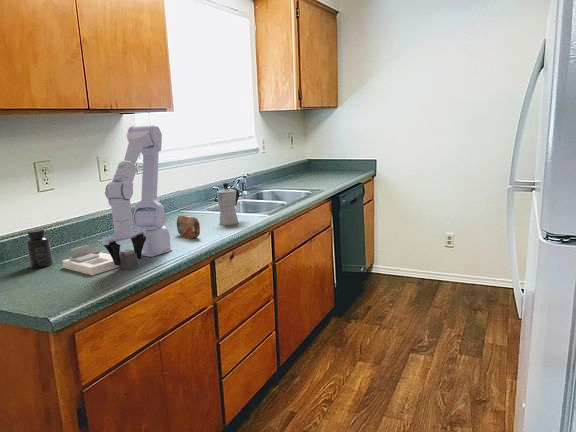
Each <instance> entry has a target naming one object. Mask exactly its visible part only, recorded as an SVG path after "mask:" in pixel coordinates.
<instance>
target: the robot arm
mask: <svg viewBox="0 0 576 432" xmlns="http://www.w3.org/2000/svg"><path fill="white" fill-rule="evenodd" d="M127 129H128V130H127V133H126V138H127V141H128V144H127V147H126V153H125V155H124V158H123V161H120V162H119V163H118V165H117V168H116V170H115V173H114V175H113V178H112V180H111V181H110V182H109V183H107V184H106V186H105V192H104V195H105V197H106V199H107V200H108V205H109V206H110V208H111V215H112V217H111V218H112V222H113V230H114V231H113V232H114V234H112V235H108V236H106V237H102V238H101V242H102V245H103V246H104V247H105V249H106V250H107V252H108V254H110V255H111V257H112V259H113V261H114V264H115V265H118V266H119V265H120V263H121V262H120V251H121V244H119V243H118V242H120V241H125V240H129V239H130V240H131V243H132V247H133V250H134V253H137V260H141V259H142V256H144V257H149V258H153V257H156V256H159V255H163V254H165V253H168V252H171V251H173V248H172V246H171V237H170V232H169V229H168V228H167V226H165V224H166V219H167V217H166V213H165V206H164V205H163V204H162V203H161V202H159V201H158V182H159V180H158V179H159V154H160V151H162V144H163V134H162V131H161V129H160V128H159V126H158V125H156V124H152V125H138V126H137V125H136V126H134V125H130V127H129V128H127ZM141 154H142V173H141V174H142V175H141V176H142V179H141V200H139V202H137V204H135V205H134V210H133V213H132V206H131V205H132V204H131V199H132V197H133V194H134V183H133V181H134V179H135V176H136V174H137V171H138V168H137V166H136V163H137V161H138V159H139V157H140V155H141ZM134 227H136V229H134Z"/></svg>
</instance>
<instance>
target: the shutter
mask: <svg viewBox="0 0 576 432" xmlns="http://www.w3.org/2000/svg"><path fill="white" fill-rule="evenodd" d="M90 252H91V249H90V245H89V244H87V245H81V246H77V247H75V248H71V249H70V257H69V258H68V259H70V260H74V261H78V262H82V261H86V260H89V259H93V258H96V257H99V255H97V254H93V253H90Z"/></svg>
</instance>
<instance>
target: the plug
mask: <svg viewBox="0 0 576 432" xmlns="http://www.w3.org/2000/svg"><path fill="white" fill-rule="evenodd" d="M120 262H121V263H120V265H119V266H120V267H119V269H122V270H125V271H129V270H132V269H135V268H138V267H139V263H138V262H139V260H138V259H137V253H134V249H129V248H128V249H124V250H120Z"/></svg>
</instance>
